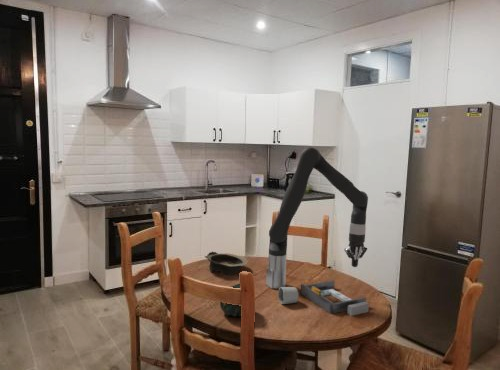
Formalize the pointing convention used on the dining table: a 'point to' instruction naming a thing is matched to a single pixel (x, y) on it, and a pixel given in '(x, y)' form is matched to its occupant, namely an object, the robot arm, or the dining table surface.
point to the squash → (231, 306)
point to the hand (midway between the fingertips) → (354, 266)
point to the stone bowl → (225, 262)
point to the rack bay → (315, 295)
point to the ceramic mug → (288, 295)
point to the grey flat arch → (335, 294)
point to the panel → (357, 308)
